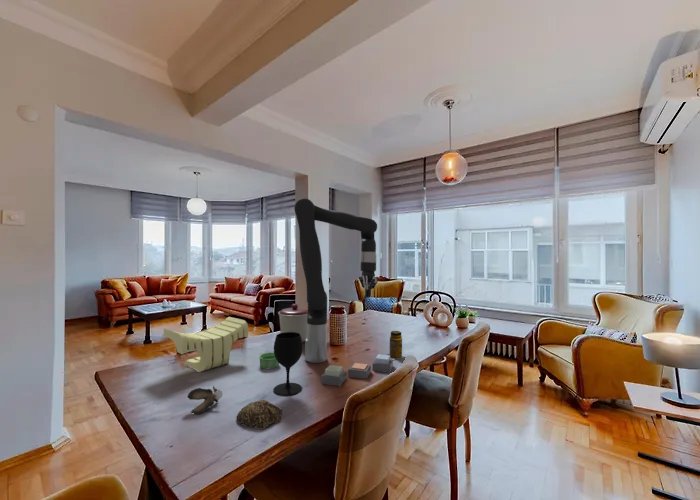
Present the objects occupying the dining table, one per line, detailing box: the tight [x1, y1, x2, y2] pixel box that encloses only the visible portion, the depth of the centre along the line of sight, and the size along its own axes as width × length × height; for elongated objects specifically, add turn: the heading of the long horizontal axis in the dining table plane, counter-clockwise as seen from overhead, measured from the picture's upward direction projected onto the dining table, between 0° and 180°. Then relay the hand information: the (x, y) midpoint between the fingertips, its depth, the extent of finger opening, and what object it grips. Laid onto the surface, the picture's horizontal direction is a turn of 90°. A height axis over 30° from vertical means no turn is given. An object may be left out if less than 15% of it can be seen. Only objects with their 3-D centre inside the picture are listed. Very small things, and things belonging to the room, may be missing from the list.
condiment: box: [386, 330, 405, 361], centre depth 151 cm, size 7×8×12 cm
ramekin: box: [258, 352, 280, 369], centre depth 137 cm, size 9×9×4 cm
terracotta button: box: [352, 362, 369, 370], centre depth 129 cm, size 5×5×3 cm
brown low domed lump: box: [235, 399, 283, 429], centre depth 95 cm, size 13×12×5 cm
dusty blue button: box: [375, 354, 390, 365], centre depth 136 cm, size 5×5×3 cm
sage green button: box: [324, 364, 344, 377], centre depth 122 cm, size 5×5×3 cm
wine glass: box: [272, 332, 304, 397], centre depth 114 cm, size 10×10×20 cm
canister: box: [277, 303, 308, 343], centre depth 174 cm, size 18×18×21 cm
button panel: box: [320, 358, 394, 387], centre depth 129 cm, size 11×36×3 cm, turn 123°
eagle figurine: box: [186, 386, 223, 415], centre depth 100 cm, size 8×7×9 cm
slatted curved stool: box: [163, 316, 249, 373], centre depth 137 cm, size 30×16×18 cm, turn 144°
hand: (367, 297), depth 148 cm, fingers closed
